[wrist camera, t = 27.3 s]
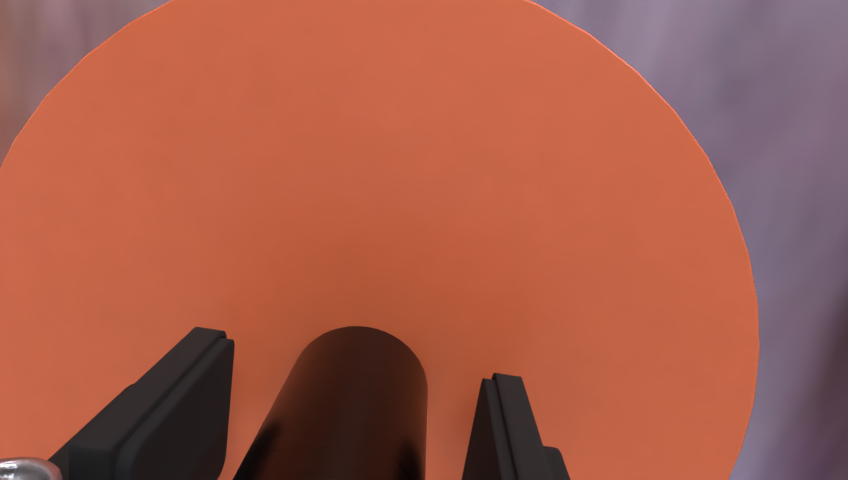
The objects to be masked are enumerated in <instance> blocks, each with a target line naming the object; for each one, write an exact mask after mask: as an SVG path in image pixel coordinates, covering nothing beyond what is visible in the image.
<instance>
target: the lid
mask: <svg viewBox="0 0 848 480" xmlns="http://www.w3.org/2000/svg"><path fill="white" fill-rule="evenodd" d="M195 327H202V328H209V329H215V330H222V331H225V332H226V336H227V339H233V340H234V343H235V349H234V362H233V375H232V387H231V400H230V412H229V425H228V437H227V450H226V458H225V463H224V466H223V469H222V472H221V474H220V476H219V478H218V479H217V480H461V479H462V475H463V470H464V465H465V460H466V455H467V450H468V445H469V440H470V435H471V430H472V425H473V420H474V415H475V410H476V405H477V400H478V395H479V390H480V386H481V382H482V379H483V378H486V379H491V378H492V375H493V373H501V374H507V375H513V376H520V377H522V380H523V383H524V386H525V389H526V392H527V396H528V399H529V402H530V405H531V409H532V412H533V415H534V418H535V421H536V425H537V428H538V431H539V434H540V437H541V441H542V444H543V446H549V447H556V448H558V449H559V451H560V452H561V454H562V457H563V460H564V463H565V466H566V468H567V471H568V474H569V477H570V480H728V479H729V477H730V474H731V472H732V470H733V467H734V465H735V462H736V460H737V458H738V455H739V453H740V450H741V448H742V445H743V441H744V437H745V434H746V430H747V426H748V422H749V418H750V415H751V411H752V407H753V403H754V397H755V388H756V380H757V371H758V362H759V322H758V302H757V297H756V291H755V285H754V280H753V274H752V269H751V263H750V257H749V253H748V250H747V247H746V244H745V241H744V238H743V235H742V233H741V230H740V227H739V224H738V221H737V218H736V215H735V212H734V209H733V206H732V203H731V201H730V200H729V198H728V196H727V194H726V192H725V190H724V188H723V186H722V184H721V182H720V180H719V178H718V176H717V174H716V172H715V170H714V168H713V166H712V164H711V162H710V160H709V158H708V156H707V155H706V154H705V152H704V151H703V149H702V148H701V147H700V145H699V144H698V142H697V141H696V140H695V138H694V137H693V135H692V134H691V133H690V131H689V130H688V128H687V127H686V125H685V124H684V123H683V121H682V120H681V118H680V117H679V116H678V114H677V113H676V111H675V110H674V109H673V108H672V107H671V106H670V105H669V104H668V103H667V102H666V101H665V100H664V99H663V98H662V97H661V96H660V95H659V94H658V93H657V92H656V90H655V89H654V88H653V87H652V86H651V85H650V84H649V83H648V82H647V81H646V80H645V79H644V78H643V77H642V76H641V75H640V74H639V73H638V72H637V71H636V70H635V69H634V68H633V67H632V66H630V65H629V64H628V63H626V62H625V61H624V60H623V59H621V58H620V57H619V56H617V55H616V54H615V53H614V52H612V51H611V50H610V49H609V48H607V47H606V46H605V45H603V44H602V43H601V42H600V41H598V40H597V39H596V38H594V37H593V36H592V35H591V34H589V33H588V32H586V31H584V30H582V29H581V28H579V27H577V26H575V25H574V24H572V23H570V22H568V21H567V20H565V19H563V18H562V17H560V16H558V15H556V14H555V13H553V12H551V11H549V10H548V9H546V8H544V7H542V6H541V5H539V4H537V3H535V2H532V1H530V0H171V1H169V2H167V3H165V4H164V5H162V6H160V7H158V8H156V9H154V10H152V11H150V12H149V13H147V14H145V15H143V16H141V17H139V18H137V19H135V20H134V21H132V22H130V23H129V24H127V25H126V26H125V27H123V28H122V29H121V30H119V31H118V32H117V33H115V34H114V35H113V36H111V37H110V38H109V39H107V40H106V41H104V42H103V43H102V44H100V45H99V46H98V47H96V48H95V49H94V50H92V51H91V52H90V53H88V54H87V55H86V56H85V57H84V58H83V59H82V60H81V61H80V62H79V63H78V64H77V65H76V66H75V67H74V68H73V69H72V70H71V71H70V72H69V73H68V74H67V75H66V76H65V77H64V78H63V79H62V80H61V81H60V82H59V83H58V84H57V85H56V86H55V87H54V88H53V89H52V90H51V91H50V92H49V93H48V94H47V95H46V96H45V98H44V99H43V101H42V102H41V103H40V105H39V106H38V108H37V109H36V110H35V112H34V113H33V114H32V116H31V117H30V119H29V120H28V121H27V123H26V124H25V126H24V127H23V128H22V130H21V131H20V133H19V134H18V135H17V137H16V138H15V140H14V142H13V144H12V146H11V148H10V150H9V152H8V154H7V156H6V158H5V160H4V162H3V164H2V166H1V167H0V459H4V458H13V457H35V458H41V459H44V460H48V459H49V458H50V457H51V456H52V455H53V454H55V453H56V452H57V451H58V450H59V449H60V448H61V447H62V446H63V445H64V444H65V443H66V442H68V441H69V440H70V439H71V438H72V437H73V436H74V435H75V434H76V433H77V432H78V431H80V430H81V429H82V428H83V427H84V426H85V425H86V424H87V423H88V422H89V421H90V420H91V419H93V418H94V417H95V416H96V415H97V414H98V413H99V412H100V411H101V410H102V409H103V408H104V407H106V406H107V405H108V404H109V403H110V402H111V401H112V400H113V399H114V398H115V397H116V396H118V395H119V394H120V393H121V392H122V391H123V390H124V389H125V388H126V387H128V386H129V385H131V384H134V383H135V382H137V381H138V380H139V379H140V378H141V377H142V376H143V375H144V374H145V373H146V372H147V371H148V370H149V369H150V368H152V367H153V366H154V365H155V364H156V363H157V362H158V361H159V360H160V359H161V358H162V357H163V356H164V355H165V354H167V353H168V352H169V351H170V350H171V349H172V348H173V347H174V346H175V345H176V344H177V343H178V342H179V341H180V340H182V339H183V338H184V337H185V336H186V335H187V334H188V333H189V332H190V331H191V330H192V329H193V328H195Z"/></svg>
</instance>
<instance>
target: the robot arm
mask: <svg viewBox="0 0 848 480" xmlns="http://www.w3.org/2000/svg"><path fill="white" fill-rule="evenodd" d="M234 349H235V343H234V340H233V339H227V336H226V332H225V331H222V330H215V329H209V328H202V327H195V328H193V329H192V330H191V331H190V332H189V333H188V334H187V335H186V336H185V337H184V338H183V339H182V340H180V341H179V342H178V343H177V344H176V345H175V346H174V347H173V348H172V349H171V350H170V351H169V352H168V353H167V354H165V355H164V356H163V357H162V358H161V359H160V360H159V361H158V362H157V363H156V364H155V365H154V366H153V367H152V368H150V369H149V370H148V371H147V372H146V373H145V374H144V375H143V376H142V377H141V378H140V379H139V380H138V381H137V382H135V383H134V384H131V385H129V386H128V387H126V388H125V389H124V390H123V391H122V392H121V393H120V394H119V395H118V396H116V397H115V398H114V399H113V400H112V401H111V402H110V403H109V404H108V405H107V406H106V407H104V408H103V409H102V410H101V411H100V412H99V413H98V414H97V415H96V416H95V417H94V418H93V419H91V420H90V421H89V422H88V423H87V424H86V425H85V426H84V427H83V428H82V429H81V430H80V431H78V432H77V433H76V434H75V435H74V436H73V437H72V438H71V439H70V440H69V441H68V442H66V443H65V444H64V445H63V446H62V447H61V448H60V449H59V450H58V451H57V452H56V453H55V454H53V455H52V456H51V457H50V458H49V459H48V460H44V459H41V458H35V457H13V458H4V459H0V480H217V479H218V478H219V476H220V474H221V472H222V469H223V466H224V463H225V458H226V450H227V437H228V425H229V412H230V400H231V387H232V375H233V362H234ZM461 480H570V477H569V474H568V471H567V468H566V466H565V463H564V460H563V457H562V454H561V452H560V451H559V449H558V448H556V447H549V446H543V444H542V441H541V437H540V434H539V431H538V428H537V425H536V421H535V418H534V415H533V412H532V409H531V405H530V402H529V399H528V396H527V392H526V389H525V386H524V383H523V380H522V377H520V376H513V375H507V374H501V373H493V375H492V378H491V379H486V378H483V379H482V382H481V386H480V390H479V395H478V400H477V405H476V410H475V415H474V420H473V425H472V430H471V435H470V440H469V445H468V450H467V455H466V460H465V465H464V470H463V475H462V479H461Z"/></svg>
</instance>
